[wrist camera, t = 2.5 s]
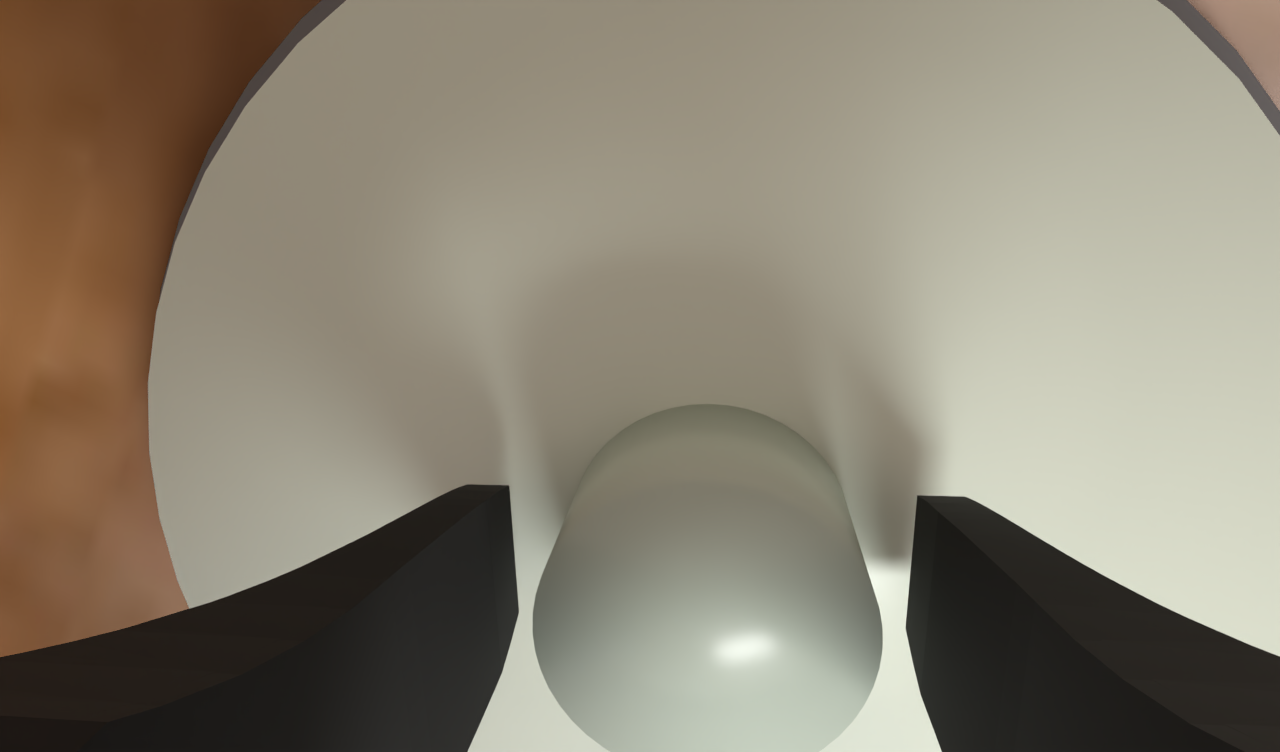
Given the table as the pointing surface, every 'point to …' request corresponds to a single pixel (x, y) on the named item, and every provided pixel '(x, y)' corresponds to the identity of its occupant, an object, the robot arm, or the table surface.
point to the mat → (330, 3)
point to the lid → (733, 333)
